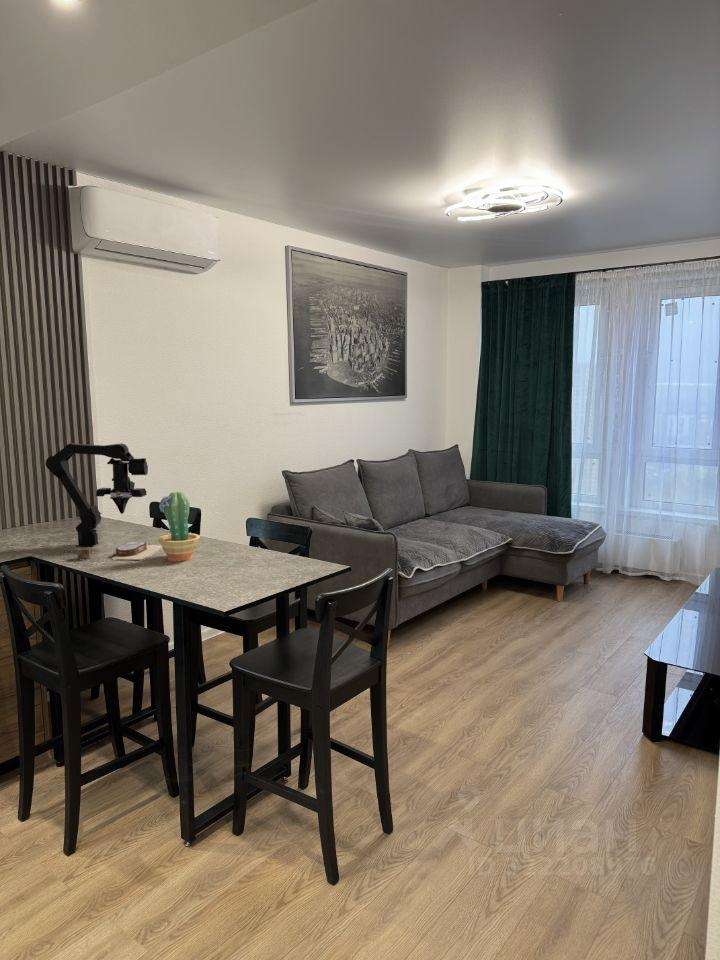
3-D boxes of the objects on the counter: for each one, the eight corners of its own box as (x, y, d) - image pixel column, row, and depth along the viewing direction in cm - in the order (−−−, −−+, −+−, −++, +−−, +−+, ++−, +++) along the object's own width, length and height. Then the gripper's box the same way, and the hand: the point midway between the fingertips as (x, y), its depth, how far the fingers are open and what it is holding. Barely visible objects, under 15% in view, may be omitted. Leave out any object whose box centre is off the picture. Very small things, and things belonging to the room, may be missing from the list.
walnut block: (77, 560, 243) (77, 550, 243) (79, 558, 247) (78, 547, 246) (89, 560, 244) (89, 549, 244) (90, 557, 248) (90, 547, 247)
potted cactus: (167, 552, 255) (164, 489, 252) (206, 553, 254) (204, 489, 251) (152, 563, 240) (149, 495, 237) (194, 563, 239) (192, 495, 236)
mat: (111, 560, 244) (111, 558, 244) (135, 546, 266) (135, 545, 265) (143, 560, 243) (143, 559, 243) (165, 547, 265) (165, 545, 265)
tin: (111, 556, 247) (132, 558, 246) (111, 547, 247) (132, 550, 246) (130, 547, 262) (150, 549, 261) (130, 539, 261) (150, 541, 260)
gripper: (151, 473, 272) (152, 510, 274) (106, 472, 273) (108, 509, 275) (140, 476, 261) (141, 515, 263) (94, 475, 262) (96, 514, 264)
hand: (122, 513), depth 266 cm, fingers closed
